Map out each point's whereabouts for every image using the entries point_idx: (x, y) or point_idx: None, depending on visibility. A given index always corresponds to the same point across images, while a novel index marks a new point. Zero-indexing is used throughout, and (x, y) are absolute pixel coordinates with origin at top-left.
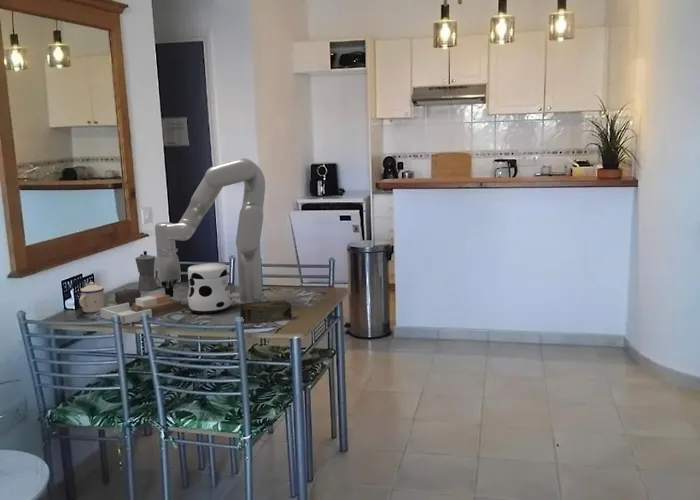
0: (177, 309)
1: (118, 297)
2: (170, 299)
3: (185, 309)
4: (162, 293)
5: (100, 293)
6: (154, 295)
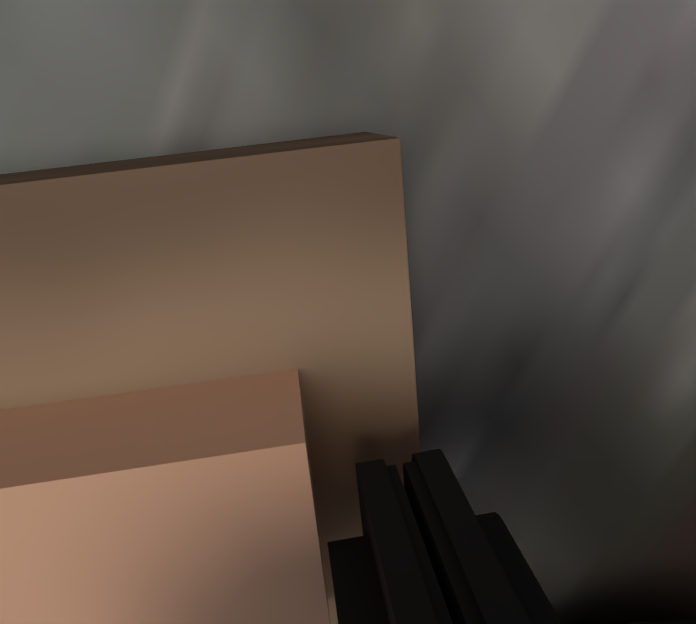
0: None
1: None
2: None
3: None
4: (294, 483)
5: None
6: (35, 556)
